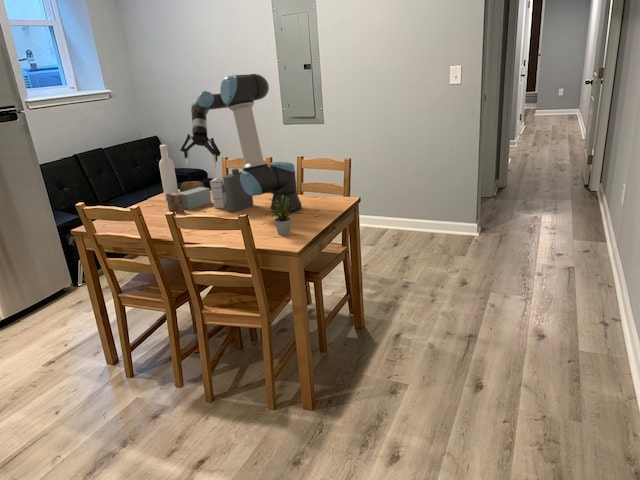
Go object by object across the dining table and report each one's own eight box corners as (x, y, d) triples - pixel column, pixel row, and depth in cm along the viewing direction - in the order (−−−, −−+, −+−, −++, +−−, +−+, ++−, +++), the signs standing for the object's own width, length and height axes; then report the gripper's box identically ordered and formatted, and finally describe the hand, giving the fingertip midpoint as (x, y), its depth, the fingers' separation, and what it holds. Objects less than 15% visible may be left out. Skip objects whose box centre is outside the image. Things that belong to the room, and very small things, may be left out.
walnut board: (184, 211, 255) (181, 194, 252) (181, 212, 254) (178, 195, 251) (172, 209, 261) (169, 192, 258) (168, 210, 259) (165, 193, 256)
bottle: (161, 199, 283) (152, 146, 273) (170, 196, 290) (161, 143, 280) (173, 200, 280) (164, 146, 270) (182, 196, 287) (173, 143, 277)
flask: (248, 204, 261) (243, 165, 254) (255, 205, 257) (250, 166, 250) (224, 211, 251) (219, 171, 245) (231, 212, 247) (226, 172, 241)
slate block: (211, 202, 270) (209, 188, 267) (188, 210, 259) (186, 194, 256) (202, 201, 274) (200, 186, 272) (179, 208, 264) (177, 193, 261)
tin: (180, 196, 288) (178, 182, 285) (183, 195, 290) (180, 181, 288) (204, 196, 284) (202, 181, 281) (207, 195, 287) (204, 180, 284)
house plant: (266, 228, 219) (262, 192, 213) (298, 225, 219) (295, 189, 214) (265, 239, 205) (261, 200, 200) (299, 236, 206) (296, 197, 200)
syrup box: (224, 208, 256) (220, 180, 252) (213, 208, 258) (209, 180, 253) (228, 205, 262) (224, 177, 257) (217, 205, 263) (214, 178, 258)
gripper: (220, 136, 272) (223, 171, 265) (173, 129, 260) (174, 165, 253) (224, 129, 266) (227, 164, 259) (177, 121, 254) (178, 158, 247)
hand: (201, 165), depth 256 cm, fingers open, 13 cm apart
